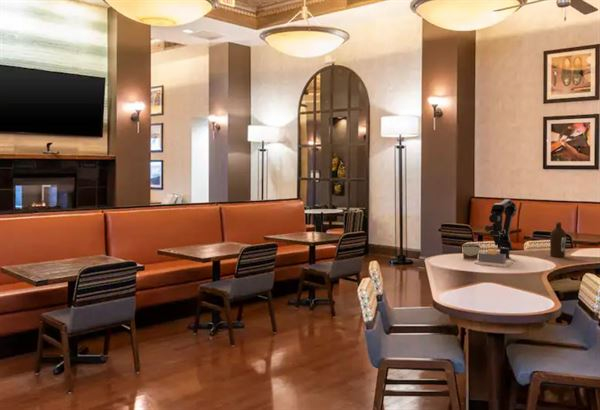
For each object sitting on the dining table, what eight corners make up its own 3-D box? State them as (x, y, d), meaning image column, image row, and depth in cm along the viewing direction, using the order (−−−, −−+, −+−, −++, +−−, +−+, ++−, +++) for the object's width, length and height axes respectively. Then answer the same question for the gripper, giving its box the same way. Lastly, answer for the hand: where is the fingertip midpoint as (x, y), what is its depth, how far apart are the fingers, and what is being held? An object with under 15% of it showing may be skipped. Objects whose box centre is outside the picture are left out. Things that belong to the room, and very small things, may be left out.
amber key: (489, 253, 372) (489, 249, 372) (496, 254, 369) (496, 249, 369) (487, 254, 368) (487, 250, 368) (494, 255, 366) (495, 250, 365)
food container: (477, 257, 396) (478, 243, 395) (479, 259, 390) (480, 245, 389) (459, 257, 397) (460, 243, 397) (461, 258, 391) (461, 244, 390)
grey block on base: (482, 260, 386) (482, 249, 386) (512, 262, 375) (513, 252, 375) (474, 263, 371) (474, 253, 370) (505, 266, 360) (506, 255, 359)
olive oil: (546, 256, 407) (548, 222, 405) (552, 255, 414) (554, 221, 413) (561, 258, 399) (563, 223, 398) (567, 256, 407) (569, 222, 405)
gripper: (489, 220, 395) (489, 242, 396) (482, 222, 379) (481, 245, 380) (506, 221, 389) (505, 243, 390) (499, 223, 373) (498, 246, 374)
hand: (497, 244), depth 384 cm, fingers open, 6 cm apart
